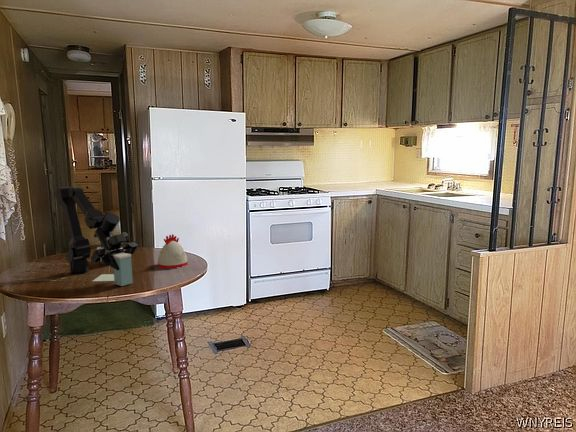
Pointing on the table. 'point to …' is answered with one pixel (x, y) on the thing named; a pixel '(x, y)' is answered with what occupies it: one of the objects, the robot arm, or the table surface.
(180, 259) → the kitchen timer
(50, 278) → the table surface
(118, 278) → the tea tin
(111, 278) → the plate
